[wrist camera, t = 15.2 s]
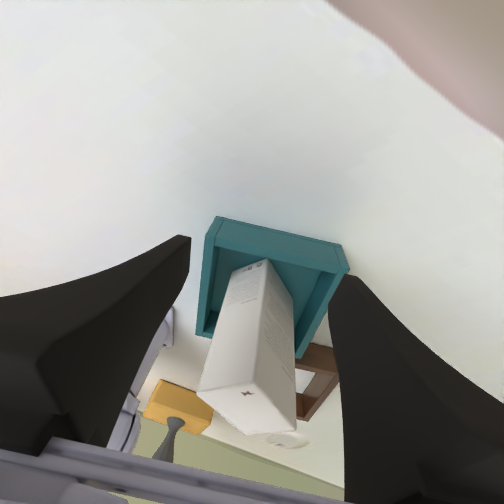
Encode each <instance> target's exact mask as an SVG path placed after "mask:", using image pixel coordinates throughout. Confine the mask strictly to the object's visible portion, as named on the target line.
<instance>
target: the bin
mask: <svg viewBox="0 0 504 504" xmlns="http://www.w3.org/2000/svg"><path fill="white" fill-rule="evenodd" d="M266 258H268V259H269V260H270V262H271V263H272V265H273V267H274V268H275V270H276V272H277V273H278V275H279V277H280V278H281V280H282V282H283V283H284V285H285V287H286V288H287V290H288V292H289V293H290V295H291V296H292V298H293V318H294V351H295V358H298V359H301V358H302V356H303V354H304V352H305V350H306V348H307V347H308V345H309V343H310V341H311V339H312V337H313V336H314V334H315V332H316V330H317V328H318V326H319V325H320V323H321V321H322V319H323V317H324V315H325V314H326V312H327V310H328V303H329V301H330V299H331V298H332V296H333V294H334V292H335V290H336V288H337V287H338V285H339V283H340V281H341V279H342V277H343V275H344V274H347V273H348V271H349V270H350V268H349V265H348V263H347V260H346V257H345V254H344V252H343V249H342V246H341V245H338V244H334V243H330V242H326V241H321V240H317V239H313V238H308V237H304V236H300V235H295V234H291V233H287V232H283V231H278V230H274V229H270V228H265V227H261V226H257V225H252V224H248V223H244V222H240V221H235V220H231V219H227V218H222V217H218V216H216V217H215V219H214V221H213V223H212V225H211V226H210V228H209V230H208V232H207V233H206V235H205V242H204V252H203V262H202V272H201V282H200V293H199V303H198V313H197V323H196V333H195V335H197V336H203V337H206V338H210V339H212V338H213V335H214V331H215V328H216V324H217V321H218V318H219V314H220V311H221V308H222V304H223V301H224V298H225V294H226V291H227V288H228V284H229V281H230V277H231V274H232V272H233V271H234V270H237V269H240V268H242V267H245V266H248V265H250V264H253V263H255V262H258V261H261V260H263V259H266Z"/></svg>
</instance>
